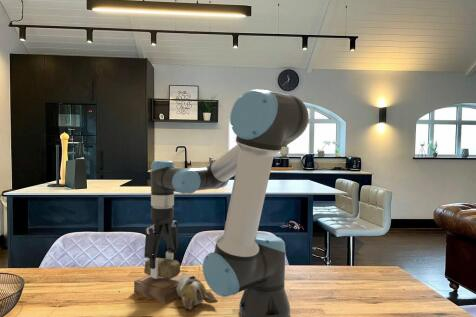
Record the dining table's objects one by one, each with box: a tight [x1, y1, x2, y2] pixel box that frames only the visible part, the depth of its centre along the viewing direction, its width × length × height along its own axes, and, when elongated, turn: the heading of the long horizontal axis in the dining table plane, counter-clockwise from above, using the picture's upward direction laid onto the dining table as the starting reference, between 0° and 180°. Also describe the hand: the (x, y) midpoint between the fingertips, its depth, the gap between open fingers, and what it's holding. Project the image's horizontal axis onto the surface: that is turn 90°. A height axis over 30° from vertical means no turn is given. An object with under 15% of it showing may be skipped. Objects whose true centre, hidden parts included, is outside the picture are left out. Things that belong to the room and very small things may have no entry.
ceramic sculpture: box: [176, 272, 218, 311], centre depth 113 cm, size 11×9×15 cm
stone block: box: [143, 257, 181, 278], centre depth 121 cm, size 6×12×5 cm, turn 71°
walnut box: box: [133, 274, 182, 304], centre depth 121 cm, size 14×12×4 cm
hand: (162, 273), depth 121 cm, fingers closed on stone block, 6 cm apart
